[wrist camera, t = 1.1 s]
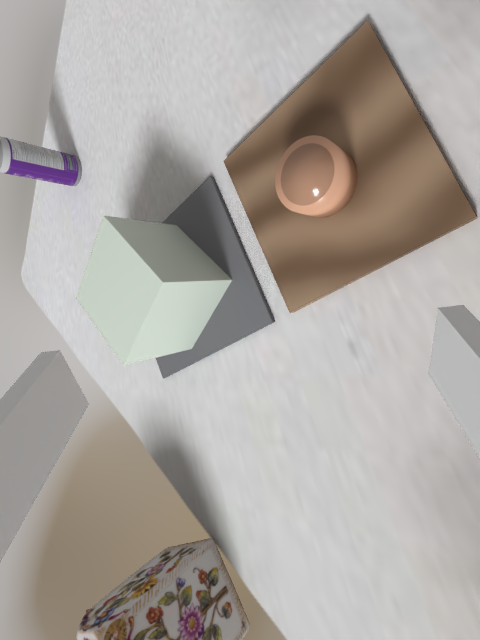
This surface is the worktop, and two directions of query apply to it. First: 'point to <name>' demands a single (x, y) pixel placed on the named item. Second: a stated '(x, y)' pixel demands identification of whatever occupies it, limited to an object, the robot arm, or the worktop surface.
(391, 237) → the board
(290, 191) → the bowl
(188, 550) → the decorative jar
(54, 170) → the container
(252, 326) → the mat
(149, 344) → the pale mint green cube
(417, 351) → the worktop surface
